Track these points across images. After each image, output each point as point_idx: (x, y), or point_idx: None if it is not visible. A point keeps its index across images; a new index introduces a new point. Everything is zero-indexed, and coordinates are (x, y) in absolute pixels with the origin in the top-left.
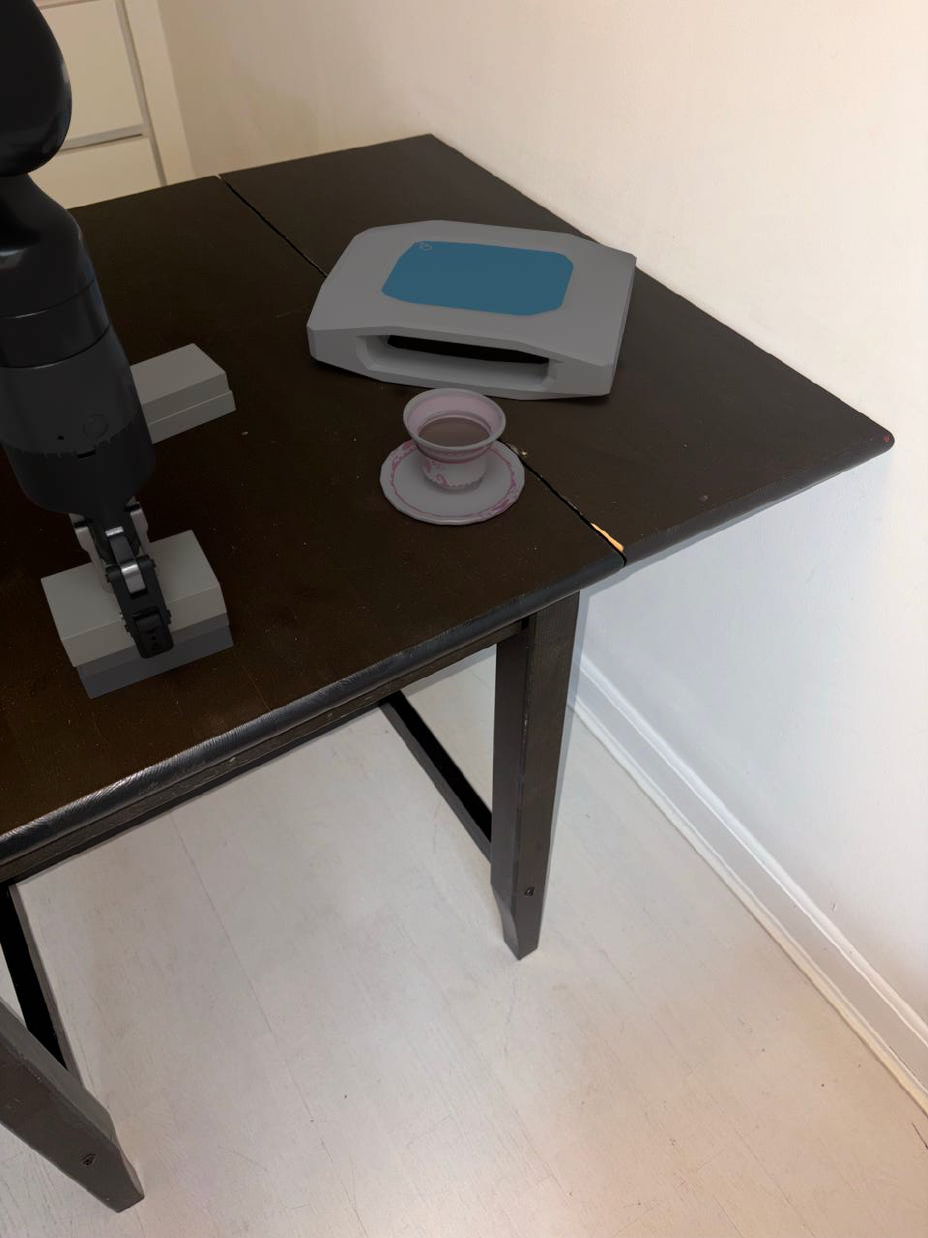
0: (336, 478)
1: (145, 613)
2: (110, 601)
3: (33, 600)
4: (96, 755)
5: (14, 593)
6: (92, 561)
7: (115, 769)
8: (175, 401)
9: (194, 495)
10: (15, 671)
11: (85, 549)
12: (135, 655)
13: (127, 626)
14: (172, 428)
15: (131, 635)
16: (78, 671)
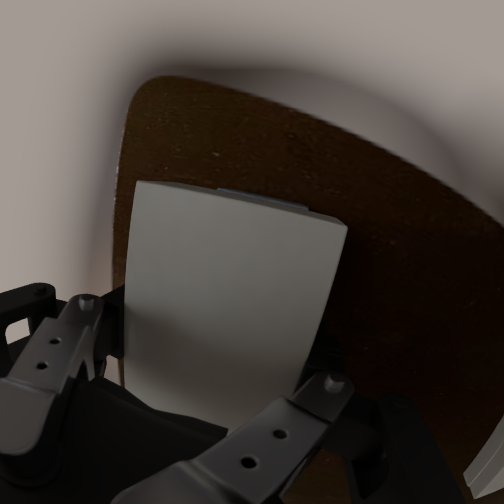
0: (331, 498)
1: (32, 328)
2: (173, 307)
3: (444, 216)
4: (154, 161)
5: (467, 204)
6: (17, 359)
7: (129, 172)
8: (499, 461)
9: (428, 428)
10: (343, 134)
11: (4, 379)
12: None
13: (11, 290)
14: (494, 438)
15: (30, 284)
16: (233, 191)
